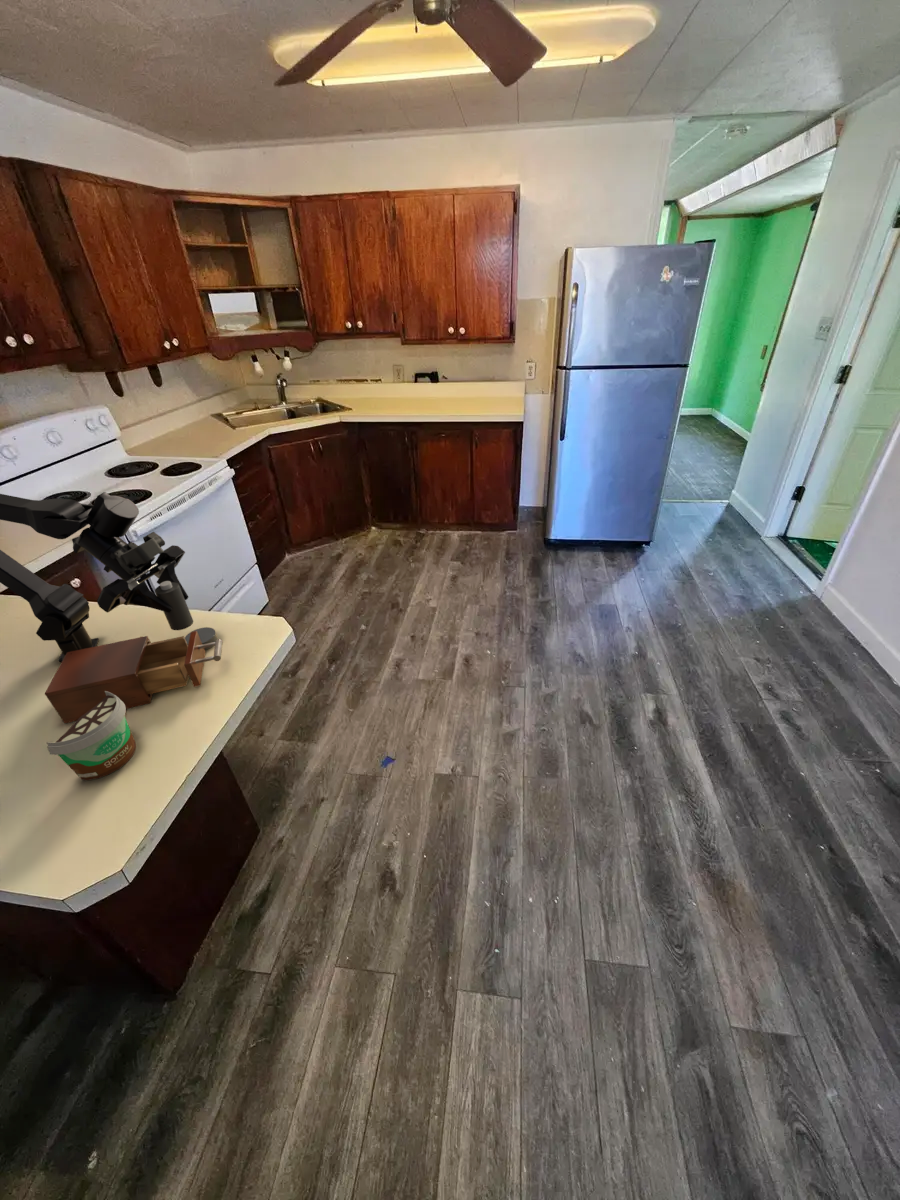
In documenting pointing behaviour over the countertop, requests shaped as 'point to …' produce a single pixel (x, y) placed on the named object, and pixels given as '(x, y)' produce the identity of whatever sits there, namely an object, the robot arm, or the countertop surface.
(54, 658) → the countertop surface
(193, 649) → the drawer
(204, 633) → the disc
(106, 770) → the food container
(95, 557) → the robot arm
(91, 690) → the cabinet
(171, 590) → the pepper mill
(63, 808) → the countertop surface
